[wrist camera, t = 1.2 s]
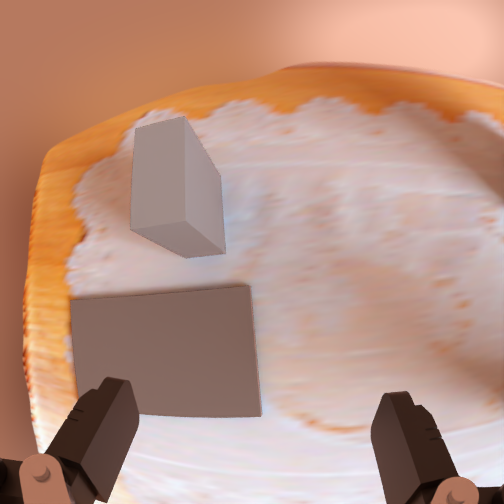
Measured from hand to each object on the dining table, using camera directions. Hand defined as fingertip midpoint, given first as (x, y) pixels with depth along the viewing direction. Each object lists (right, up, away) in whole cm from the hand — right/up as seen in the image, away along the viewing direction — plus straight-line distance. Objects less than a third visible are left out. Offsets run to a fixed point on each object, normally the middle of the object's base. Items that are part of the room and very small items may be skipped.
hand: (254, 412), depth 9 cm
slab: (-5, +8, +23) cm, 25 cm away
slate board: (-10, -5, +21) cm, 23 cm away
